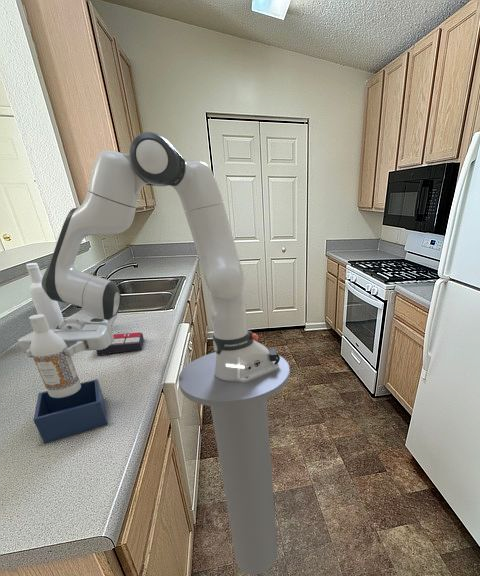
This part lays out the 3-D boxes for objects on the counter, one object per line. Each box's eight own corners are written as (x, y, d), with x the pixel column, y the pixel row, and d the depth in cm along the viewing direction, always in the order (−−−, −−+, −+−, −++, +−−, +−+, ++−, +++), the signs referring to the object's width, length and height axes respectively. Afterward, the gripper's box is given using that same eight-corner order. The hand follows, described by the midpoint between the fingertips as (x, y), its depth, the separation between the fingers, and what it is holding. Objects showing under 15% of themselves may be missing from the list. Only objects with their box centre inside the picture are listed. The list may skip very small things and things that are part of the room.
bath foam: (42, 399, 80) (9, 321, 71) (60, 384, 87) (31, 311, 77) (72, 398, 81) (42, 321, 71) (87, 383, 87) (61, 310, 78)
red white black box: (139, 341, 125) (94, 345, 120) (141, 351, 126) (97, 355, 122) (142, 331, 134) (100, 334, 129) (144, 341, 136) (103, 344, 131)
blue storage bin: (104, 399, 96) (97, 378, 93) (107, 424, 85) (100, 401, 82) (48, 414, 90) (38, 392, 86) (44, 443, 79) (33, 419, 76)
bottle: (73, 333, 143) (49, 262, 130) (58, 340, 136) (31, 266, 123) (57, 332, 144) (31, 261, 131) (42, 339, 137) (13, 265, 124)
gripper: (34, 322, 88) (-4, 343, 76) (114, 319, 89) (89, 339, 77) (43, 343, 91) (7, 367, 79) (120, 340, 92) (97, 363, 80)
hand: (48, 353), depth 78 cm, fingers closed on bath foam, 7 cm apart
